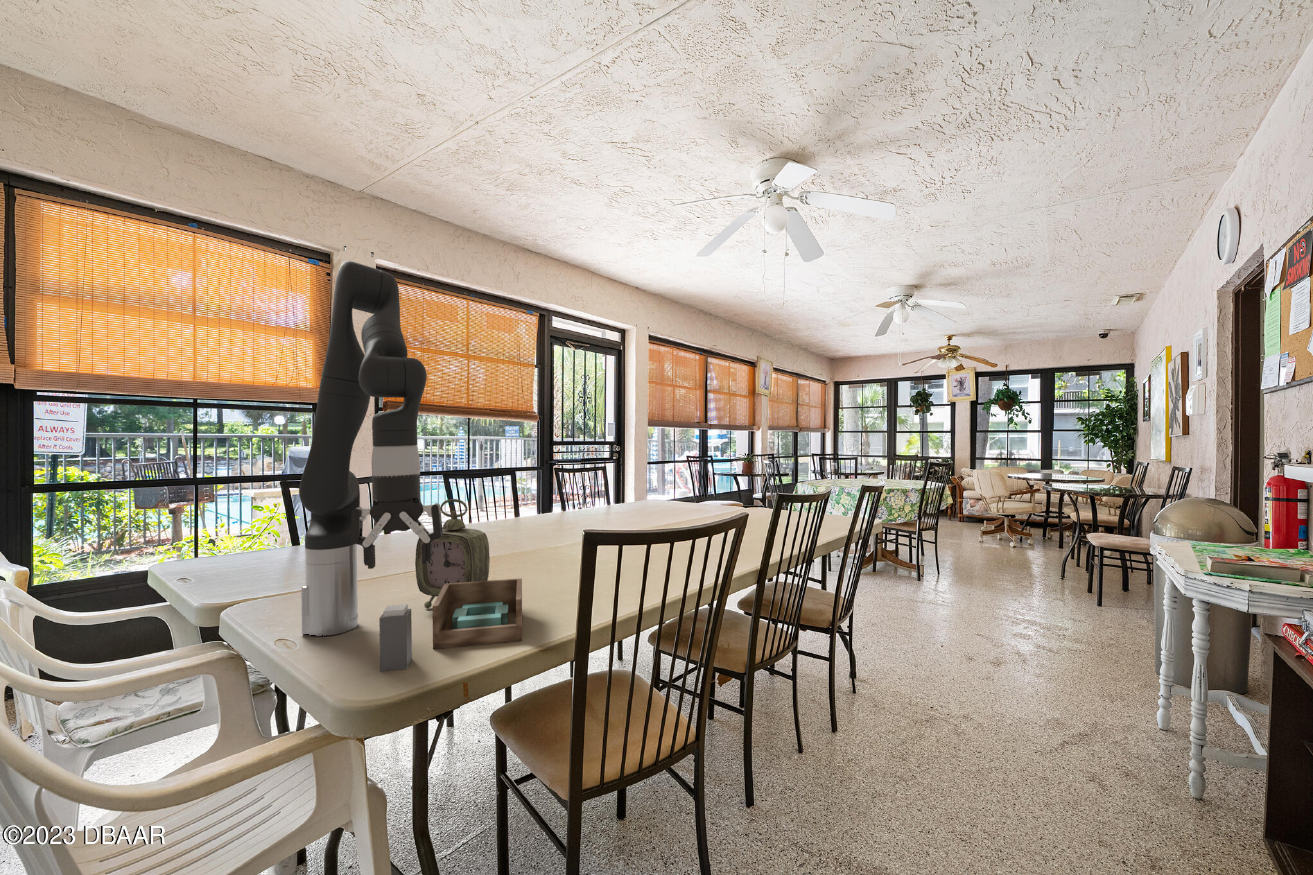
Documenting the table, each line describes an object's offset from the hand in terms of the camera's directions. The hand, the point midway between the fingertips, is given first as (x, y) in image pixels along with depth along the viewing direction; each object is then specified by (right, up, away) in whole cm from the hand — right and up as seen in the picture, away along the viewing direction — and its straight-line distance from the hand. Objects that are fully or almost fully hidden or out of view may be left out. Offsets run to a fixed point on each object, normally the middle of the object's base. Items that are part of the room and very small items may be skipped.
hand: (398, 565), depth 95 cm
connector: (0, -17, 0) cm, 17 cm away
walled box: (+9, -17, +16) cm, 25 cm away
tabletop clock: (-2, -17, +32) cm, 36 cm away
